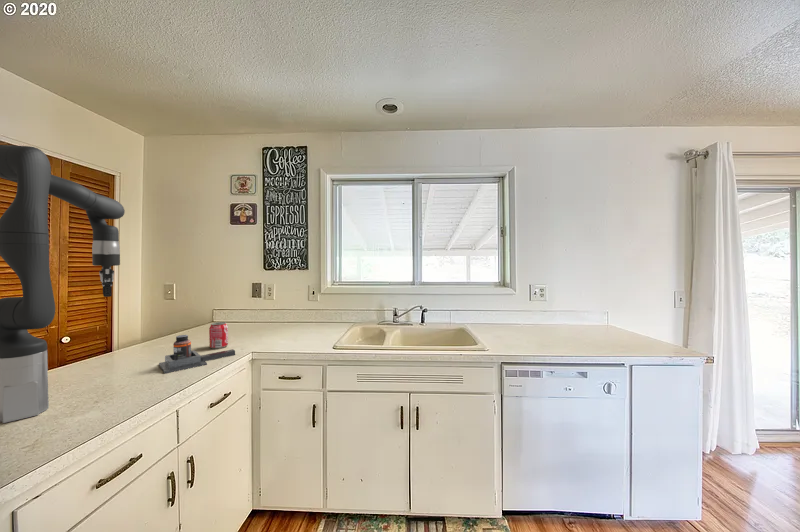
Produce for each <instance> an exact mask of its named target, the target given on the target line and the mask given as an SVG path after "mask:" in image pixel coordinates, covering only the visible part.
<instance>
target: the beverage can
mask: <svg viewBox="0 0 800 532" xmlns="http://www.w3.org/2000/svg"><path fill="white" fill-rule="evenodd" d="M208 330H209V337H208V338H209V339H208V340H209V341H208V343H209V348H211V349H212V350H218V349H219V348H220V349H224V348H226V347H227V346H228V345H229V327H228V324H227V322H226V321H217V322H212V323H210V326H209V328H208Z"/></svg>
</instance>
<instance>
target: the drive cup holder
mask: <svg viewBox="0 0 800 532" xmlns="http://www.w3.org/2000/svg"><path fill="white" fill-rule="evenodd" d="M232 356H236V350H235V349H228V350H223V351H218V352H212V353H207V354H202V355H200V354H199V353H198V352H197V351H196V350H191V357H187V358H182V359H176V360H174V353H172V354H168V355H164V361H162V362H161V361H160V362H159V363H158V366H159V367H160V369H161V371H162V372H163V374H165V375H166V374H171V373H174V371H175V372H179V370H180V371H183V369H184V370H189V369H193V367H194V368H196V367H197V366H198V367H201V366H202V365H203V366H207V365H208V363H207V362H208V361H211V360H217V359H222V357H223V358H226V357H232ZM203 366H202V367H203ZM188 368H189V369H188Z"/></svg>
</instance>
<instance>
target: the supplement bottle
mask: <svg viewBox="0 0 800 532" xmlns="http://www.w3.org/2000/svg"><path fill="white" fill-rule="evenodd" d="M191 351H192V341H191V340H190V339H189V335H188V334H181V335H177V336H176V337H175V341H174V342H173V354H174V360H176V359H182V358H187V357H191Z"/></svg>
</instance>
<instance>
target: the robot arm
mask: <svg viewBox="0 0 800 532" xmlns="http://www.w3.org/2000/svg"><path fill="white" fill-rule="evenodd" d="M51 172H52V167H51V163H50V160H49V158H48V156H47V155H46V154H45V152H43V151H42V150H41V149H40V148H37V147H35V146H31V145H30V146H29V145H13V144H0V178H1V179H4V180H6V181H9V182H14V183H16V184H17V185H16V194H15V197H14V198H13V201H12V202H11V203H10V205H9V206H8V207H7V209H6V210H5V211H4V212H3V214H2V215H1V217H0V258H2V260H3V261H4V262H5V263H6V264H7V265H8V267H10V268H11V270H13V272H14V273H15V275H16V276H17V277H18V279H19V282H20V284H21V290H22V291H21V292H22V296H10V297H9V296H7V297H2V298H0V422H1V423H2V424H5V423H10V422H15V421H17V420H18V421H19V420H22V419H26V418H30V417H34V416H38V415H40V414H41V413H43V412H45V411H47V410H48V409H49V407H50V406H49V376H48V374H49V371H48V370H49V368H48V367H49V366H48V343H47V340H46V339H43V338H40V337H36V336H34V335H32V334H31V333H29V330H40V329H44V328H47V327H48V326H49V325H51V324H52V322H53V320H54V318H55V315H56V302H55V301H56V300H55V296H54V289H53V285H52V281H51V280H52V279H51V271H50V239H49V237H50V236H49V235H50V234H49V221H48V220H49V217H48V213H49V207H48V206H49V205H48V204H49V195H50V196H53V197H55V198H57V199H60V200H62V201H64V202H66V203H68V204H71V205H73V206H74V207H76V208H79V209H81V210H84V211H85V214H86V216H87V218H88V221H89V224H90V226H91V230H92V245H91V246H92V248H91V249H92V250H91V252H92V253H91V254H92V258H91V259H92V266H94V267H97V266H99V267H101V270H99V271H98V273H99V279H100V282H101V285H102V295H103V297H105V298H111V297H112V296H113V295H112V293H113V291H112V290H113V288H112V287H113V283H114V276H115V270H113V269H112V267H113V266H120V265H121V250H120V249H121V246H120V240H119V239H120V238H119V236H120V235H119V234H120V233H119V231H120V230H119V229H118V227H117V226H115V225H109V224H108V223H107V222H106V220H118V219H122V218H123V217H124V215H125V213H126V211H125V207H124V206H123V205H122V204H121V203H120V202H119V201H117V200H116V199H113V198H111V197H108V196H105V195H103V194H99V193H95V192H94V191H93V190H92V189H89V188H88V187H85V186H84V185H81V184H80V183H77V182H75V181H72V180H69V179H67V178H63V177H60V176H57V175H54V174H52V173H51Z"/></svg>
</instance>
